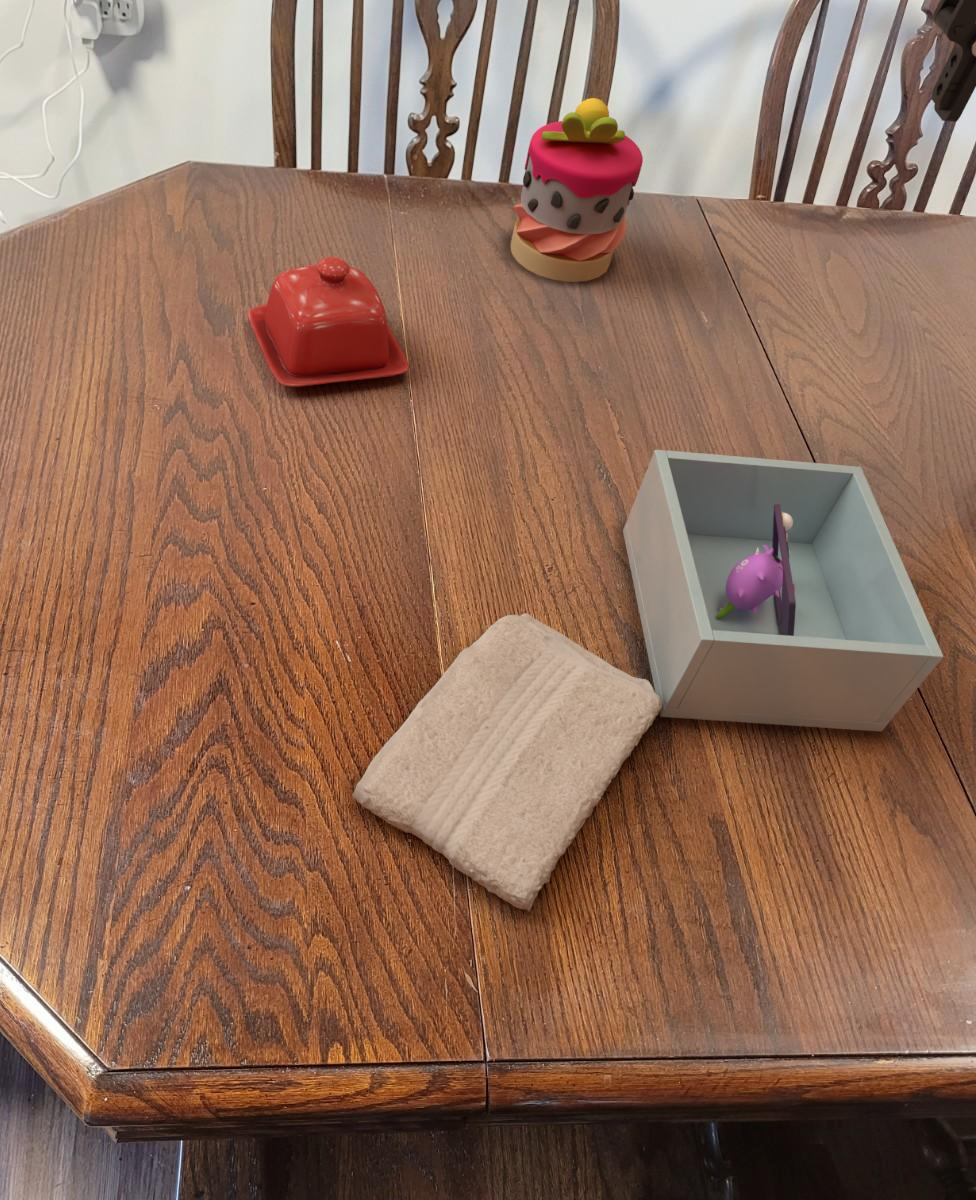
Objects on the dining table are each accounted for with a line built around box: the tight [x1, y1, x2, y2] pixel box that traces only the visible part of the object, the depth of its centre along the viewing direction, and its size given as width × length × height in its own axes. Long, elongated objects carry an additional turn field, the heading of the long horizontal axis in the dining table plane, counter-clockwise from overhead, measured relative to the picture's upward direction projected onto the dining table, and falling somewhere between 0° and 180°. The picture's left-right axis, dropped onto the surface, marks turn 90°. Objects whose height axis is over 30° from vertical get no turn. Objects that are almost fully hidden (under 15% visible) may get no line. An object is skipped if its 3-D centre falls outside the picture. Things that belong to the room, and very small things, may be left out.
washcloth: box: [352, 612, 662, 912], centre depth 62 cm, size 12×18×3 cm, turn 145°
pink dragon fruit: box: [716, 504, 796, 636], centre depth 69 cm, size 7×5×9 cm
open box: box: [622, 449, 944, 732], centre depth 69 cm, size 15×17×8 cm
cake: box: [510, 97, 644, 283], centre depth 96 cm, size 10×11×15 cm
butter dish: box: [247, 256, 410, 388], centre depth 85 cm, size 12×12×8 cm
